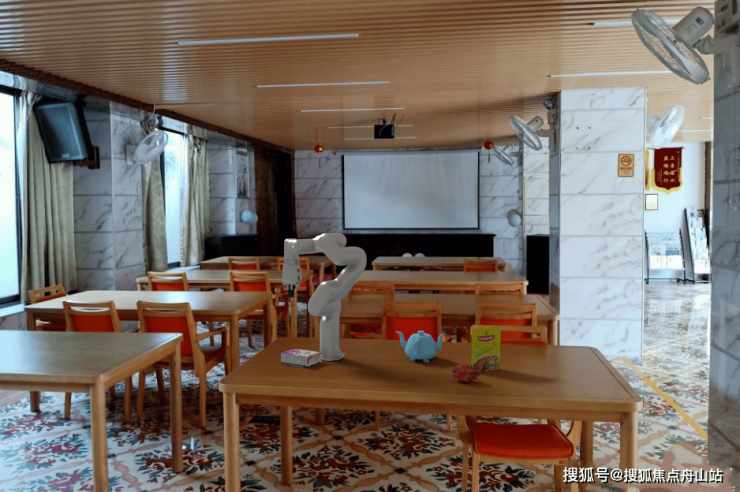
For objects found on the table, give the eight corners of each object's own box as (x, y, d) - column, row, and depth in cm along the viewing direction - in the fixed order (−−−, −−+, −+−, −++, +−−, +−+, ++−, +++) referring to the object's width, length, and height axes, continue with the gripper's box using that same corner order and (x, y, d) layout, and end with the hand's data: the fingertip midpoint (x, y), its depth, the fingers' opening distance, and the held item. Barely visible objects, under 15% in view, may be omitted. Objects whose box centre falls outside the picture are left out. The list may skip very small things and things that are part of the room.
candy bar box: (294, 347, 293) (321, 352, 285) (294, 357, 294) (321, 362, 285) (280, 352, 284) (308, 356, 275) (280, 362, 284) (308, 367, 276)
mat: (314, 363, 283) (314, 363, 283) (302, 367, 276) (302, 367, 276) (295, 360, 290) (295, 359, 290) (283, 364, 283) (283, 363, 283)
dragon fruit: (450, 383, 257) (477, 390, 253) (448, 376, 250) (476, 383, 246) (454, 365, 261) (481, 371, 257) (453, 357, 254) (481, 364, 250)
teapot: (445, 361, 288) (445, 333, 287) (409, 365, 281) (409, 336, 280) (430, 354, 303) (430, 326, 302) (395, 357, 296) (395, 329, 295)
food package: (471, 372, 268) (472, 329, 267) (470, 372, 269) (471, 328, 268) (500, 369, 274) (501, 326, 272) (499, 368, 275) (499, 326, 273)
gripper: (307, 262, 309) (306, 297, 310) (285, 260, 317) (284, 294, 318) (297, 264, 302) (297, 299, 304) (275, 261, 310) (275, 296, 312)
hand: (291, 297), depth 311 cm, fingers closed
